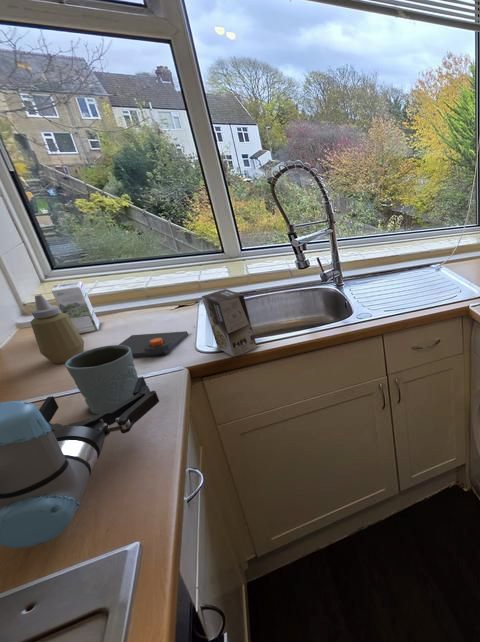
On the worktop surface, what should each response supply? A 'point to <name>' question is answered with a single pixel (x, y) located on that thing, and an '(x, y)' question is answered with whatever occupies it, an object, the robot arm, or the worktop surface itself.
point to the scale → (143, 347)
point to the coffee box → (229, 321)
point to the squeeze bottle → (55, 332)
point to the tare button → (156, 342)
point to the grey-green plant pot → (104, 376)
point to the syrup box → (76, 306)
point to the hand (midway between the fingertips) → (99, 391)
